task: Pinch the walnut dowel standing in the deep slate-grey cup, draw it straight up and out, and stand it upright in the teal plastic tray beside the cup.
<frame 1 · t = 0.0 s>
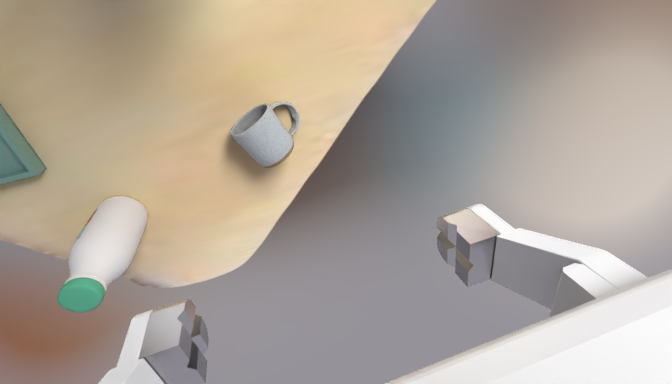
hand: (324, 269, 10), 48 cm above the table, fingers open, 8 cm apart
milk bottle: (124, 213, 57), on the table
ceramic mug: (267, 124, 56), on the table
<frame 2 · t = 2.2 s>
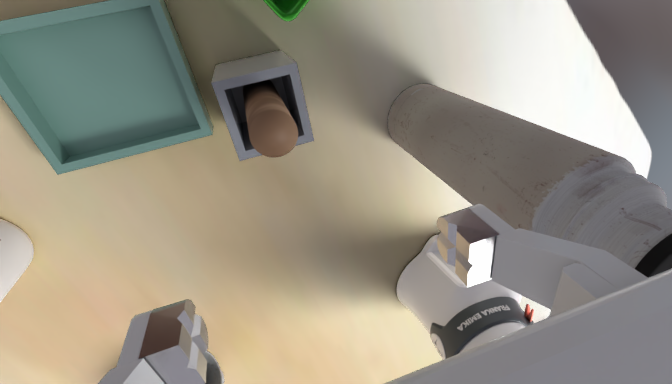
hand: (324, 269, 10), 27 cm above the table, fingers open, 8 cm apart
dowel pin: (259, 92, 32), point 1 cm above the table, touching pen cup
tray: (111, 84, 30), on the table
thermos bottle: (416, 116, 40), on the table
pen cup: (258, 90, 33), on the table
ceramic mug: (193, 364, 50), on the table
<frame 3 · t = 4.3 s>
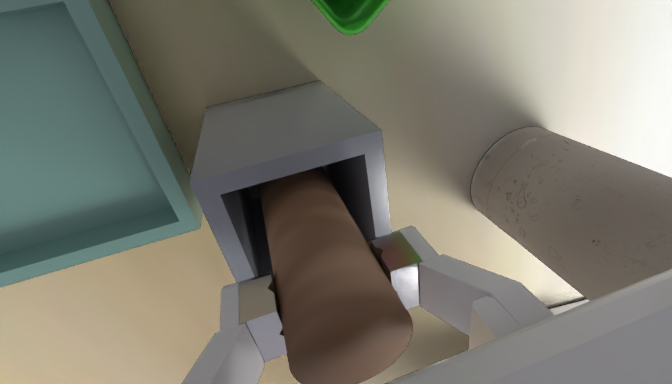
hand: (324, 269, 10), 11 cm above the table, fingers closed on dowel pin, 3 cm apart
dowel pin: (281, 152, 19), point 1 cm above the table, touching gripper, pen cup
tray: (13, 147, 16), on the table
thermos bottle: (511, 173, 27), on the table
pen cup: (279, 146, 20), on the table
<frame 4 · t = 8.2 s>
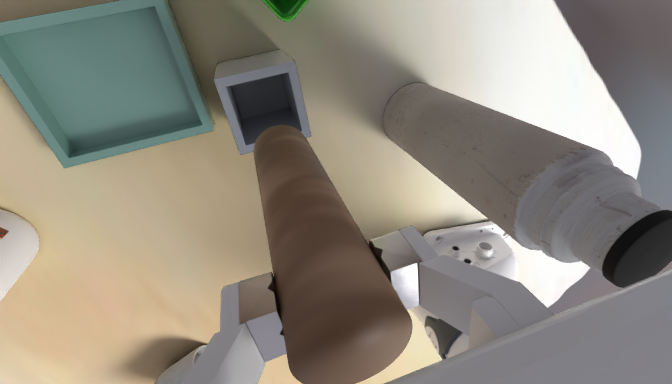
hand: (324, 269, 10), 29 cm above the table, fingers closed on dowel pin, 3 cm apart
dowel pin: (281, 151, 19), point 18 cm above the table, touching gripper
tray: (117, 81, 31), on the table
thermos bottle: (411, 114, 41), on the table
pen cup: (258, 87, 34), on the table
ceramic mug: (201, 361, 52), on the table
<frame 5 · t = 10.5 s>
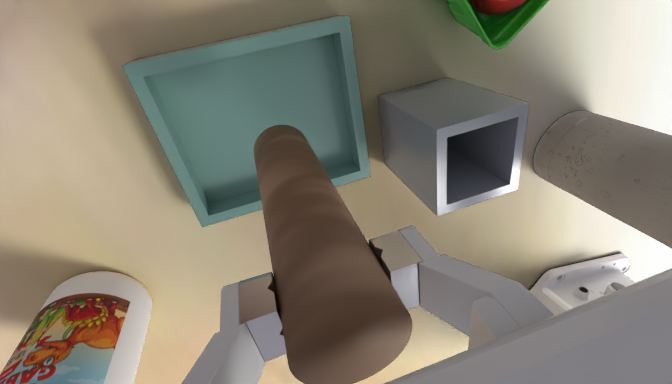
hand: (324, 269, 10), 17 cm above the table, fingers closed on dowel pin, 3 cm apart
dowel pin: (281, 151, 19), point 7 cm above the table, touching gripper
tray: (265, 121, 25), on the table
thermos bottle: (562, 145, 36), on the table
pen cup: (415, 122, 29), on the table
milk bottle: (105, 300, 29), on the table
when the fingers open (12 cm above the table, at t = 12.1 s): dowel pin stays where it is, resting on tray.
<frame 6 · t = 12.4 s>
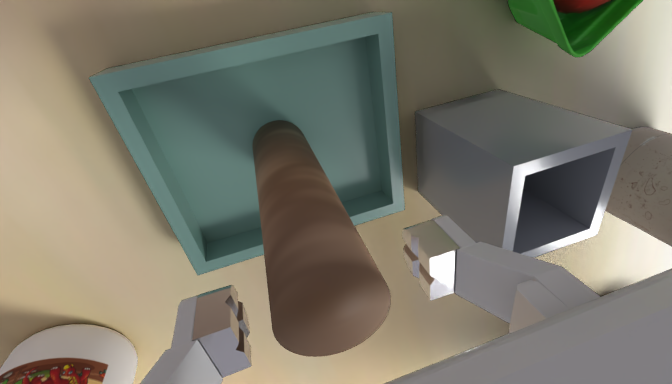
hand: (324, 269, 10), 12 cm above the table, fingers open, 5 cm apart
dowel pin: (279, 146, 20), point 1 cm above the table, touching tray
tray: (277, 143, 20), on the table
thermos bottle: (618, 166, 31), on the table
pen cup: (456, 142, 24), on the table
milk bottle: (80, 355, 24), on the table
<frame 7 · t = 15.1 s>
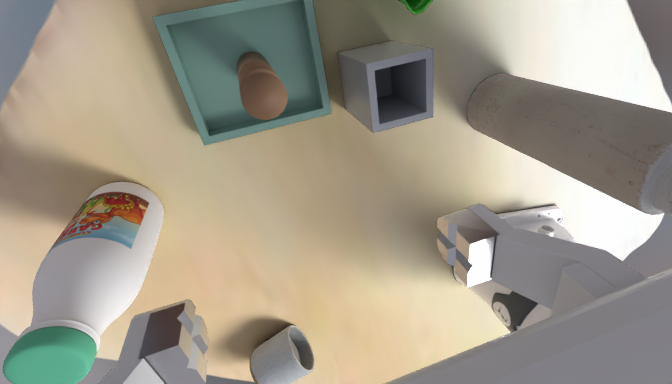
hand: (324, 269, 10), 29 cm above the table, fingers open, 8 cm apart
dowel pin: (253, 68, 34), point 1 cm above the table, touching tray
tray: (252, 67, 34), on the table
thermos bottle: (491, 103, 45), on the table
pen cup: (367, 75, 38), on the table
milk bottle: (128, 208, 38), on the table
ceramic mug: (284, 341, 56), on the table
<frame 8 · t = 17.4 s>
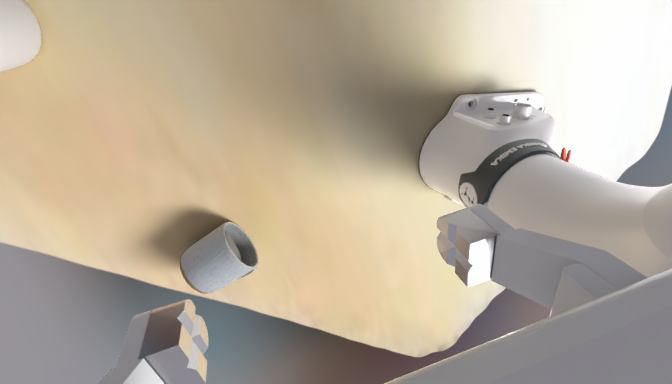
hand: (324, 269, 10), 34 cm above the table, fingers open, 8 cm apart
ceramic mug: (227, 246, 50), on the table
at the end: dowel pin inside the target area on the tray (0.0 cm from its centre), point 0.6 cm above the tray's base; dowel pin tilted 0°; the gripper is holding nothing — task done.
